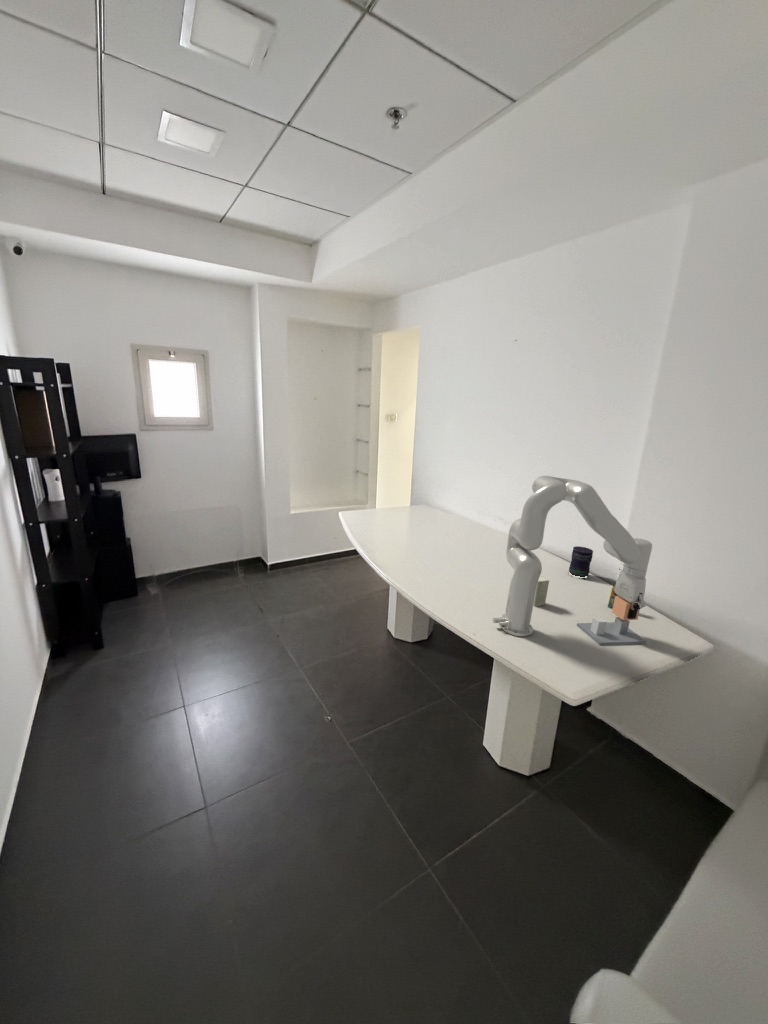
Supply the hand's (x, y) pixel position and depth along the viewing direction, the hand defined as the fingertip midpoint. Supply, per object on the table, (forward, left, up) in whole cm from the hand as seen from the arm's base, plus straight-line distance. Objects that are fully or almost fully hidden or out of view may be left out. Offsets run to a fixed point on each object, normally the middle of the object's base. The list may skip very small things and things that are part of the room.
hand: (624, 613), depth 156 cm
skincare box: (-21, +26, -9) cm, 35 cm away
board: (-4, 0, -9) cm, 10 cm away
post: (0, 0, -9) cm, 9 cm away
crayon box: (+15, +20, -9) cm, 27 cm away
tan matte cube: (0, 0, -1) cm, 1 cm away
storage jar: (+21, +57, -9) cm, 61 cm away
